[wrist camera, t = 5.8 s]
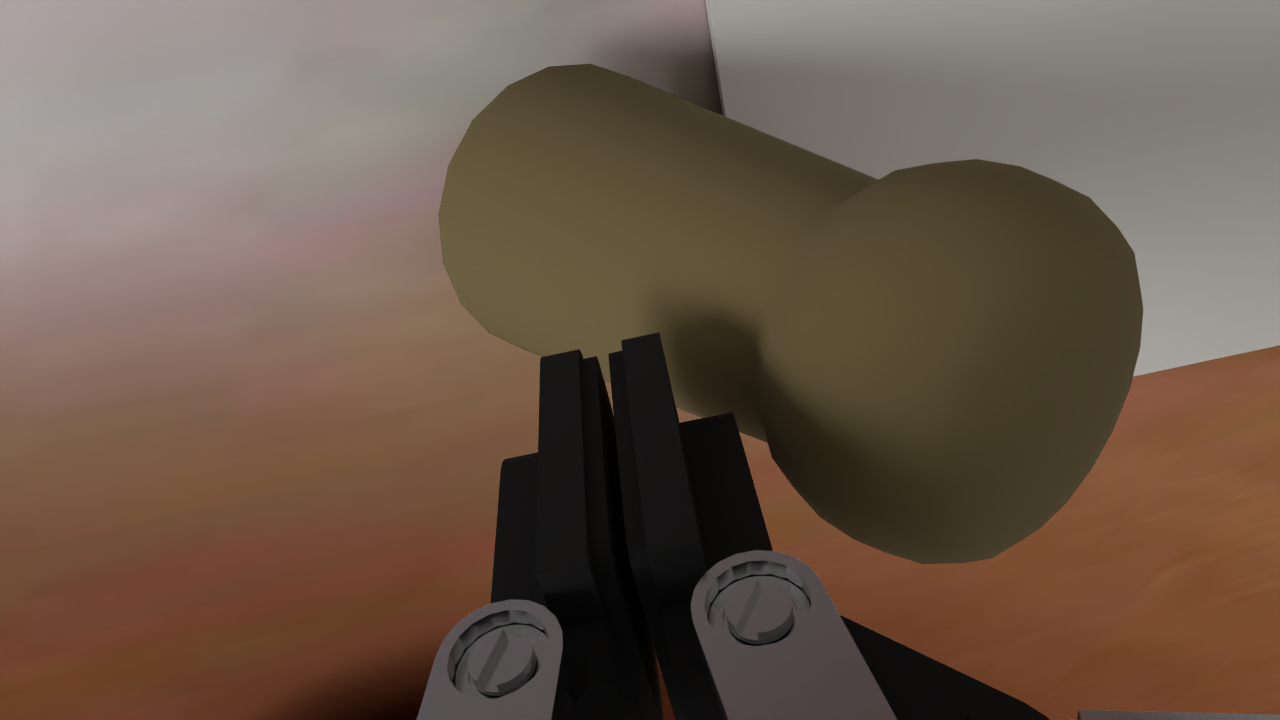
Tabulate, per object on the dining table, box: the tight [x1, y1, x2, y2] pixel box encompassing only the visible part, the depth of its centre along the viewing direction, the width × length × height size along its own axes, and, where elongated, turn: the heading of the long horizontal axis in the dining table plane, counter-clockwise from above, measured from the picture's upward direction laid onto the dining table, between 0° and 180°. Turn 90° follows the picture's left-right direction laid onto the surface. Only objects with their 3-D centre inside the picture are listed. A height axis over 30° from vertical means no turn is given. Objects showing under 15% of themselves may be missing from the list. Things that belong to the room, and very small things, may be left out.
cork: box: [439, 64, 1143, 564], centre depth 14 cm, size 6×6×11 cm
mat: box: [705, 0, 1280, 376], centre depth 20 cm, size 15×16×1 cm
